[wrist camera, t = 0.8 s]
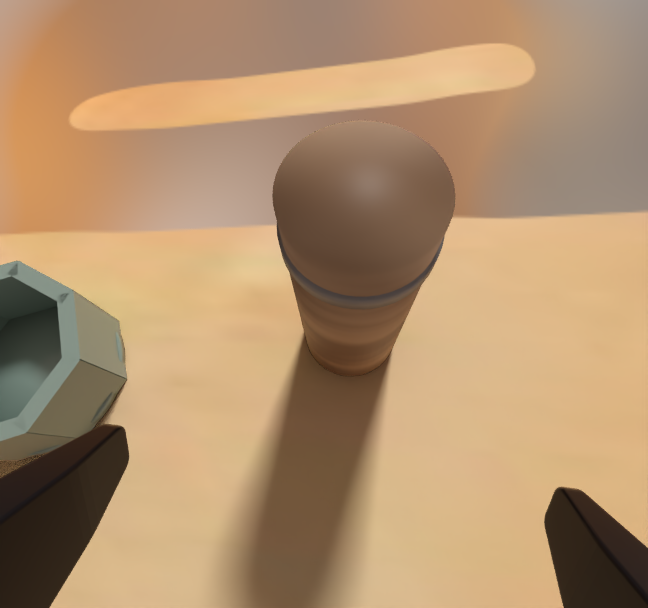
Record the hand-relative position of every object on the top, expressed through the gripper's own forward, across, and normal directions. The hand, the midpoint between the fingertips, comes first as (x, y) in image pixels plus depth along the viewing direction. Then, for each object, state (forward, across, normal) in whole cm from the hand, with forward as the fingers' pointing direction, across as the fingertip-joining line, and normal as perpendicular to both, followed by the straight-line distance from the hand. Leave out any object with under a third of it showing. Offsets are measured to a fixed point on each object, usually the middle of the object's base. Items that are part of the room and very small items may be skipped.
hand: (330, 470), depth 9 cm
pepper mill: (+14, 0, +4) cm, 15 cm away
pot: (+11, +16, +7) cm, 21 cm away
